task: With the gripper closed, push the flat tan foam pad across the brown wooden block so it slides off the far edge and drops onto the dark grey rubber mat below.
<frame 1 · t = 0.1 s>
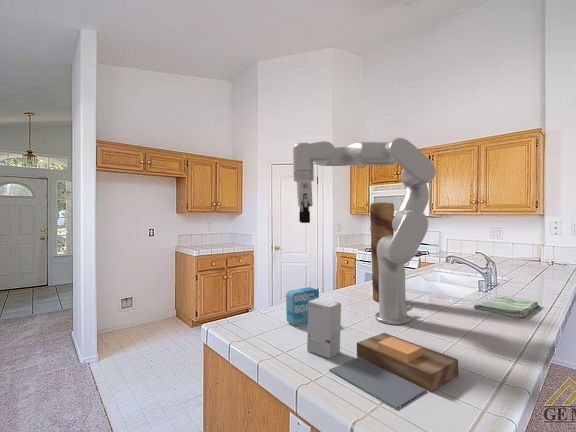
hand: (304, 222, 117), 37 cm above the countertop, tool pointing down, fingers open, 9 cm apart
brown wooden post: (382, 300, 145), on the countertop
dish towel: (506, 309, 129), on the countertop
skincare box: (324, 352, 91), on the countertop
brown wooden block: (404, 365, 82), on the countertop
mat: (374, 380, 75), on the countertop
tan foam pad: (399, 352, 81), point 4 cm above the countertop, touching brown wooden block
data package: (303, 322, 117), on the countertop
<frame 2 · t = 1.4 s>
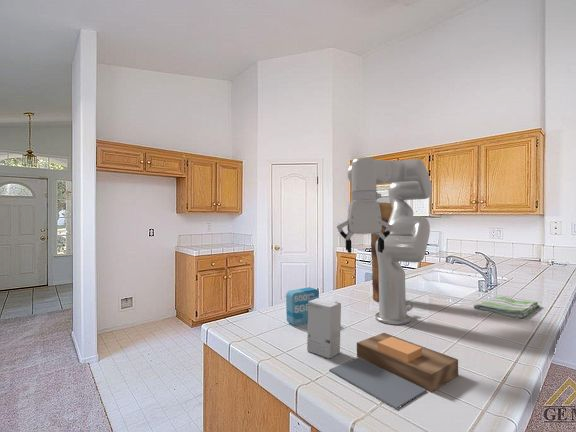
hand: (364, 252, 98), 28 cm above the countertop, tool pointing down, fingers open, 9 cm apart
nothing on the countertop moved.
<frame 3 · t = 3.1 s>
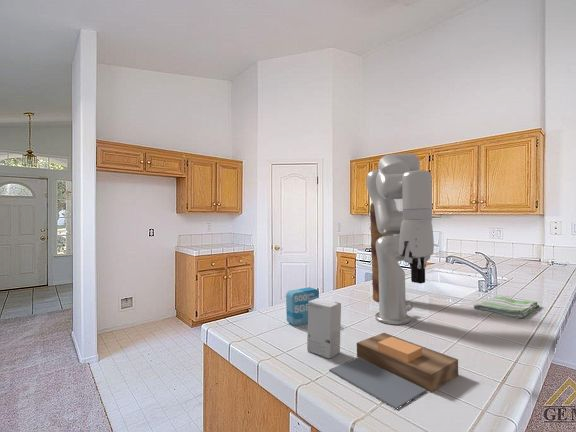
hand: (418, 282, 86), 21 cm above the countertop, tool pointing down, fingers closed
nothing on the countertop moved.
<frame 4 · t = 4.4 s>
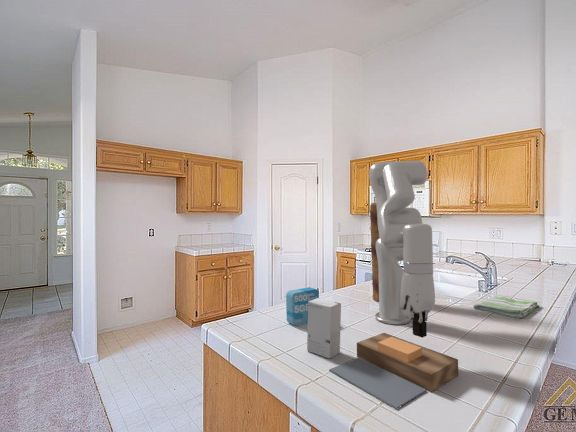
hand: (419, 335, 86), 7 cm above the countertop, tool pointing down, fingers closed
nothing on the countertop moved.
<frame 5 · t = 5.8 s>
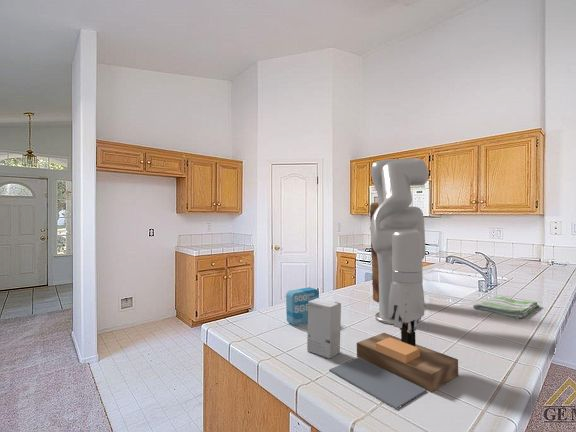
hand: (408, 345, 83), 5 cm above the countertop, tool pointing down, fingers closed
tan foam pad: (397, 353, 81), point 4 cm above the countertop, touching brown wooden block, gripper
everything else where it was.
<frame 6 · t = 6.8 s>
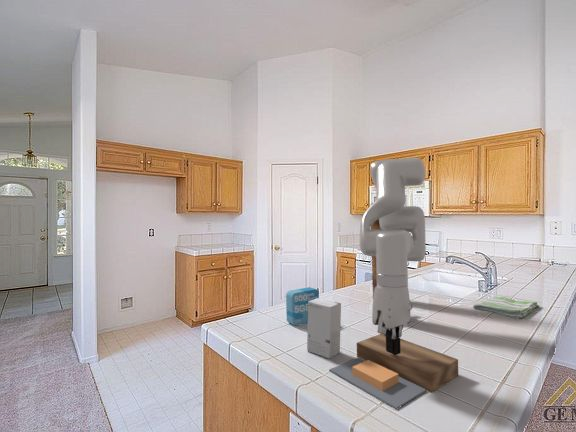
hand: (393, 352, 80), 5 cm above the countertop, tool pointing down, fingers closed
tan foam pad: (374, 370, 76), point 2 cm above the countertop, tilted 180°, touching mat
everything else where it was.
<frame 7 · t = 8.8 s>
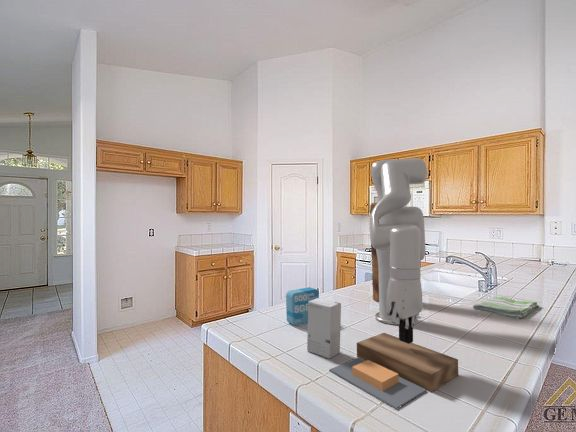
hand: (406, 341, 84), 6 cm above the countertop, tool pointing down, fingers closed
nothing on the countertop moved.
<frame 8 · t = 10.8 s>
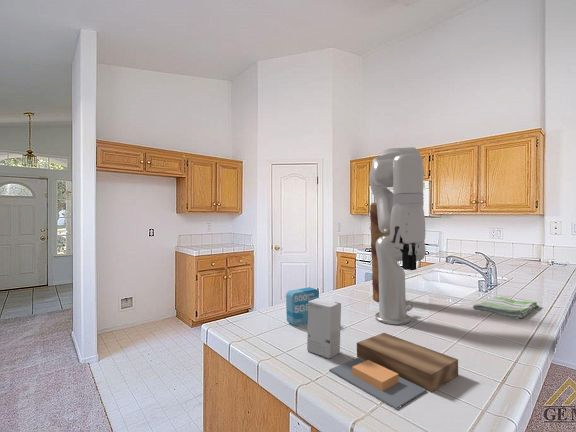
hand: (409, 269, 84), 25 cm above the countertop, tool pointing down, fingers closed
nothing on the countertop moved.
at the end: tan foam pad point 2.4 cm above the countertop; tan foam pad inside the target area on the mat (0.2 cm from its centre), point 2.4 cm above the mat's base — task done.
